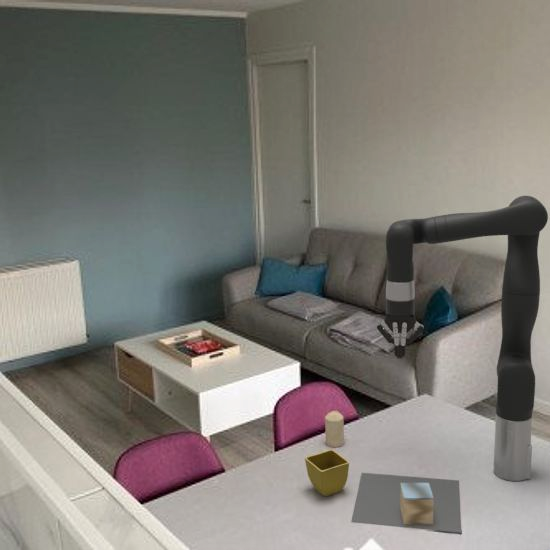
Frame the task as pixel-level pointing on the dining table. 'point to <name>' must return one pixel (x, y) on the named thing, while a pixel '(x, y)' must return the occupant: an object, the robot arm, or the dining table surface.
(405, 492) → the cube
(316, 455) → the flower pot
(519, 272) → the robot arm
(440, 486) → the mat
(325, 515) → the dining table surface
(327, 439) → the candle
